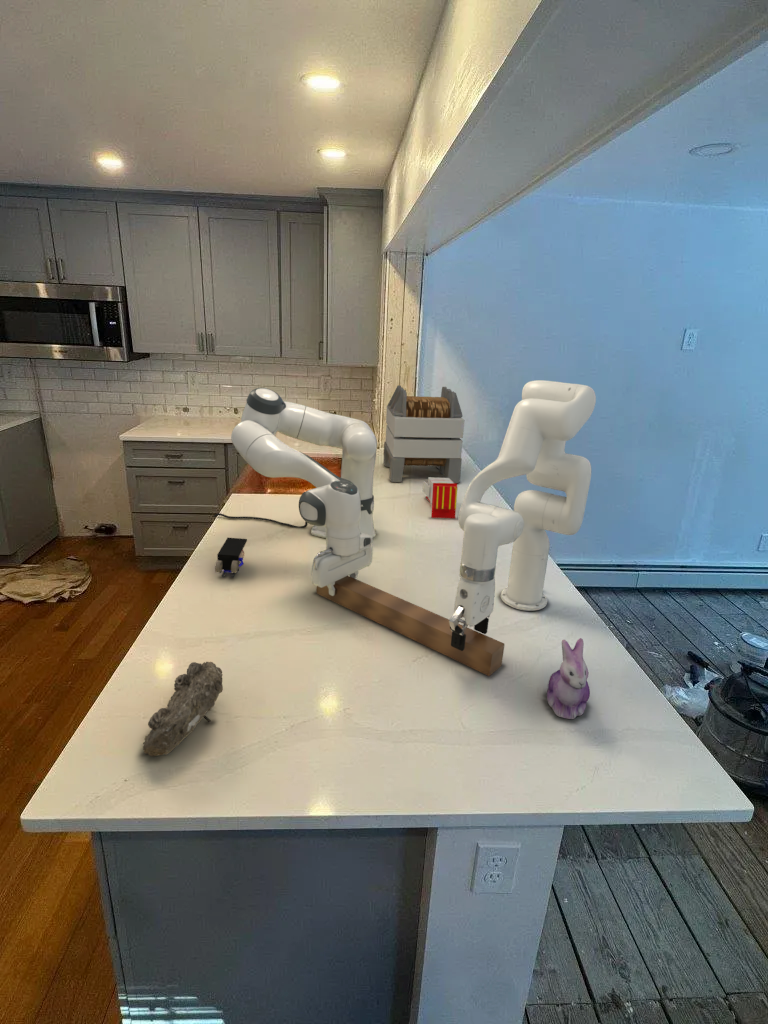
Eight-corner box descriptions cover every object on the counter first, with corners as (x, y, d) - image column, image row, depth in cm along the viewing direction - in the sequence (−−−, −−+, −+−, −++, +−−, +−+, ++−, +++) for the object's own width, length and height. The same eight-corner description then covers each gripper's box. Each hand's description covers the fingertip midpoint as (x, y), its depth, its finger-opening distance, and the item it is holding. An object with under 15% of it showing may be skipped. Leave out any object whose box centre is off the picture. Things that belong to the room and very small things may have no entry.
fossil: (172, 663, 116) (224, 630, 111) (205, 693, 119) (256, 663, 114) (117, 750, 97) (177, 715, 92) (158, 783, 100) (218, 752, 95)
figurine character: (238, 584, 162) (249, 557, 175) (236, 562, 158) (247, 536, 172) (215, 584, 161) (227, 556, 175) (212, 561, 158) (225, 535, 171)
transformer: (382, 463, 289) (386, 382, 275) (445, 464, 293) (451, 384, 279) (390, 482, 257) (394, 392, 243) (460, 483, 261) (468, 394, 247)
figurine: (568, 727, 109) (581, 661, 104) (532, 696, 118) (542, 634, 113) (603, 714, 113) (617, 650, 108) (566, 685, 122) (577, 624, 117)
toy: (450, 473, 241) (461, 484, 212) (448, 504, 244) (459, 519, 214) (421, 472, 240) (429, 483, 211) (420, 503, 243) (427, 518, 214)
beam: (316, 593, 156) (316, 574, 154) (330, 586, 160) (330, 568, 158) (489, 676, 124) (492, 654, 122) (501, 665, 128) (504, 643, 126)
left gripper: (322, 558, 139) (322, 607, 144) (377, 535, 154) (375, 581, 159) (305, 550, 143) (305, 599, 147) (359, 529, 158) (358, 574, 162)
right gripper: (471, 589, 114) (462, 662, 119) (511, 564, 127) (502, 631, 132) (440, 577, 118) (433, 648, 124) (482, 554, 131) (474, 620, 137)
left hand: (342, 590), depth 153 cm, fingers closed on beam, 5 cm apart
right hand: (469, 639), depth 128 cm, fingers open, 9 cm apart
